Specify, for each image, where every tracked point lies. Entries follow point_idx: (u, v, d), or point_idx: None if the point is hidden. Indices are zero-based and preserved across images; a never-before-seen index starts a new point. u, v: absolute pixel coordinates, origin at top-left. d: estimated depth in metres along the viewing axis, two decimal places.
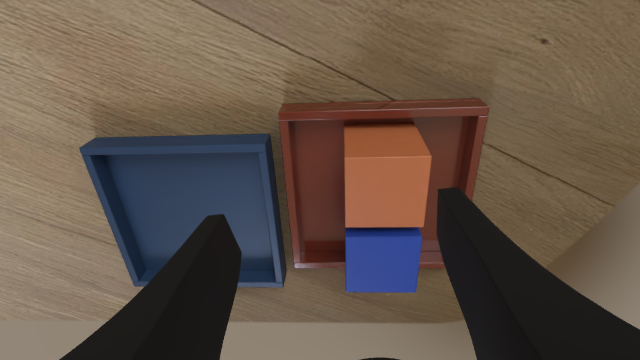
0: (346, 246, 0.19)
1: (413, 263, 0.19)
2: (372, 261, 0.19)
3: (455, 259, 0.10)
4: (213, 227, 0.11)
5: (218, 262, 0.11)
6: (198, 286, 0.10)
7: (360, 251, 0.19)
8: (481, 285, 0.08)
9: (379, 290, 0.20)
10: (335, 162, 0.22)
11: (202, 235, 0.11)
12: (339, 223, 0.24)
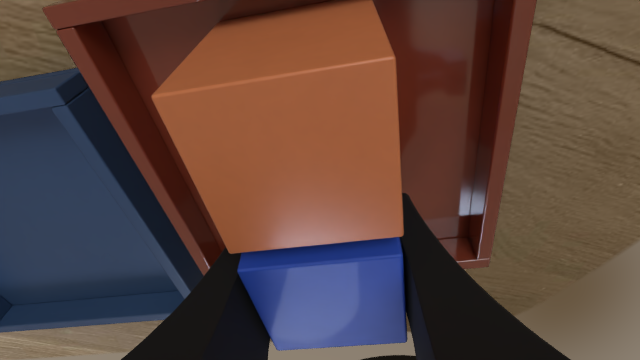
0: (245, 286, 0.09)
1: (392, 301, 0.09)
2: (309, 305, 0.09)
3: None
4: None
5: None
6: None
7: (278, 292, 0.09)
8: (412, 291, 0.09)
9: (337, 344, 0.11)
10: None
11: None
12: None
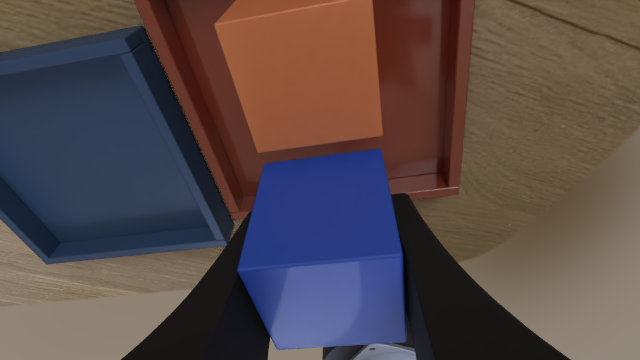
0: (245, 285, 0.09)
1: (392, 300, 0.09)
2: (309, 305, 0.09)
3: None
4: None
5: None
6: None
7: (278, 291, 0.09)
8: (412, 291, 0.09)
9: (337, 344, 0.11)
10: None
11: None
12: (282, 152, 0.17)
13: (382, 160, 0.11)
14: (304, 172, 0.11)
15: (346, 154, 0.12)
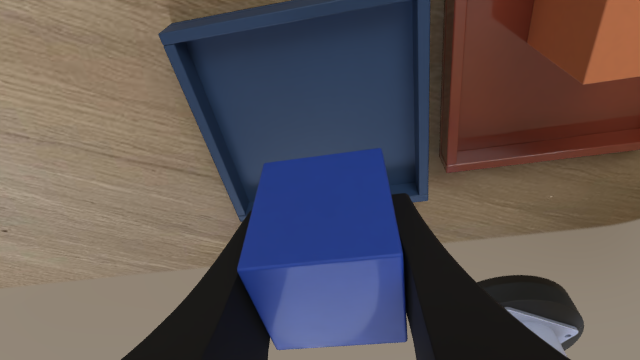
0: (245, 285, 0.09)
1: (392, 300, 0.09)
2: (309, 305, 0.09)
3: None
4: None
5: None
6: None
7: (278, 291, 0.09)
8: (412, 291, 0.09)
9: (337, 344, 0.11)
10: (519, 6, 0.15)
11: None
12: (507, 105, 0.18)
13: (382, 160, 0.11)
14: (304, 172, 0.11)
15: (346, 154, 0.12)
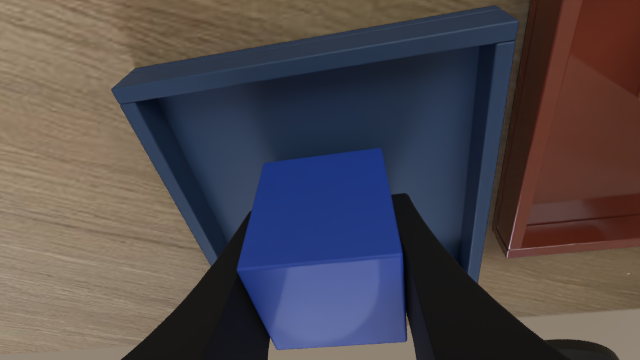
0: (245, 285, 0.09)
1: (392, 300, 0.09)
2: (308, 305, 0.09)
3: None
4: None
5: None
6: None
7: (277, 291, 0.09)
8: (412, 291, 0.09)
9: (337, 344, 0.11)
10: (635, 50, 0.10)
11: None
12: (594, 174, 0.13)
13: (382, 159, 0.11)
14: (304, 172, 0.11)
15: (346, 154, 0.12)
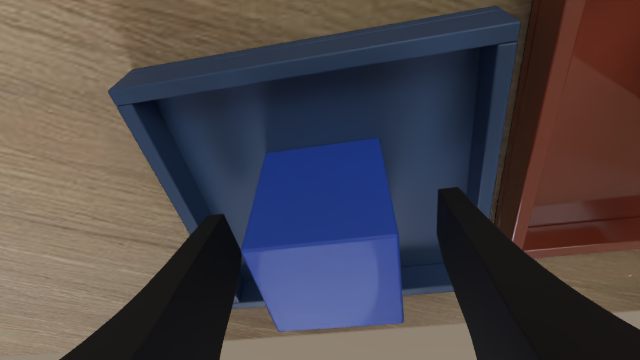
0: (248, 266, 0.09)
1: (389, 281, 0.10)
2: (309, 286, 0.10)
3: (455, 259, 0.10)
4: (213, 227, 0.11)
5: (218, 262, 0.11)
6: (198, 286, 0.10)
7: (279, 272, 0.10)
8: (481, 285, 0.08)
9: (336, 325, 0.11)
10: (638, 51, 0.10)
11: (202, 235, 0.11)
12: (596, 176, 0.13)
13: (380, 149, 0.12)
14: (304, 161, 0.12)
15: (345, 143, 0.12)
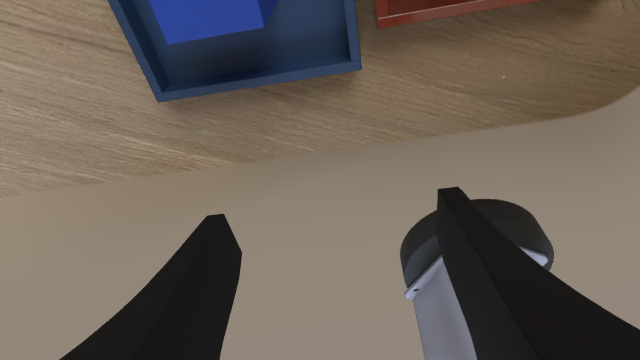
0: None
1: None
2: None
3: (455, 259, 0.10)
4: (213, 227, 0.11)
5: (218, 262, 0.11)
6: (198, 286, 0.10)
7: None
8: (481, 285, 0.08)
9: (211, 31, 0.14)
10: None
11: (202, 235, 0.11)
12: None
13: None
14: None
15: None
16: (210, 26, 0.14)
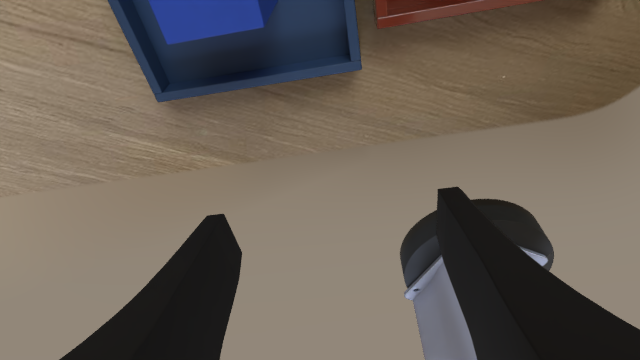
0: None
1: None
2: None
3: (455, 259, 0.10)
4: (213, 227, 0.11)
5: (218, 262, 0.11)
6: (198, 286, 0.10)
7: None
8: (481, 285, 0.08)
9: (211, 31, 0.14)
10: None
11: (202, 235, 0.11)
12: None
13: None
14: None
15: None
16: (210, 26, 0.14)
